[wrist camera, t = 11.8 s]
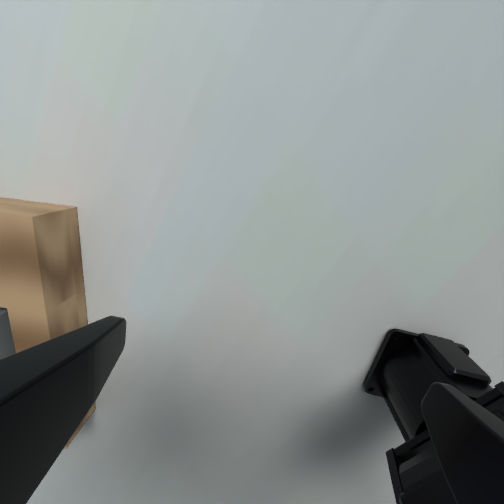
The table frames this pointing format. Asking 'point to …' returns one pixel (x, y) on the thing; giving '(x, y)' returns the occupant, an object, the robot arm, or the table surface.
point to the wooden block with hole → (41, 273)
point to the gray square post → (5, 335)
